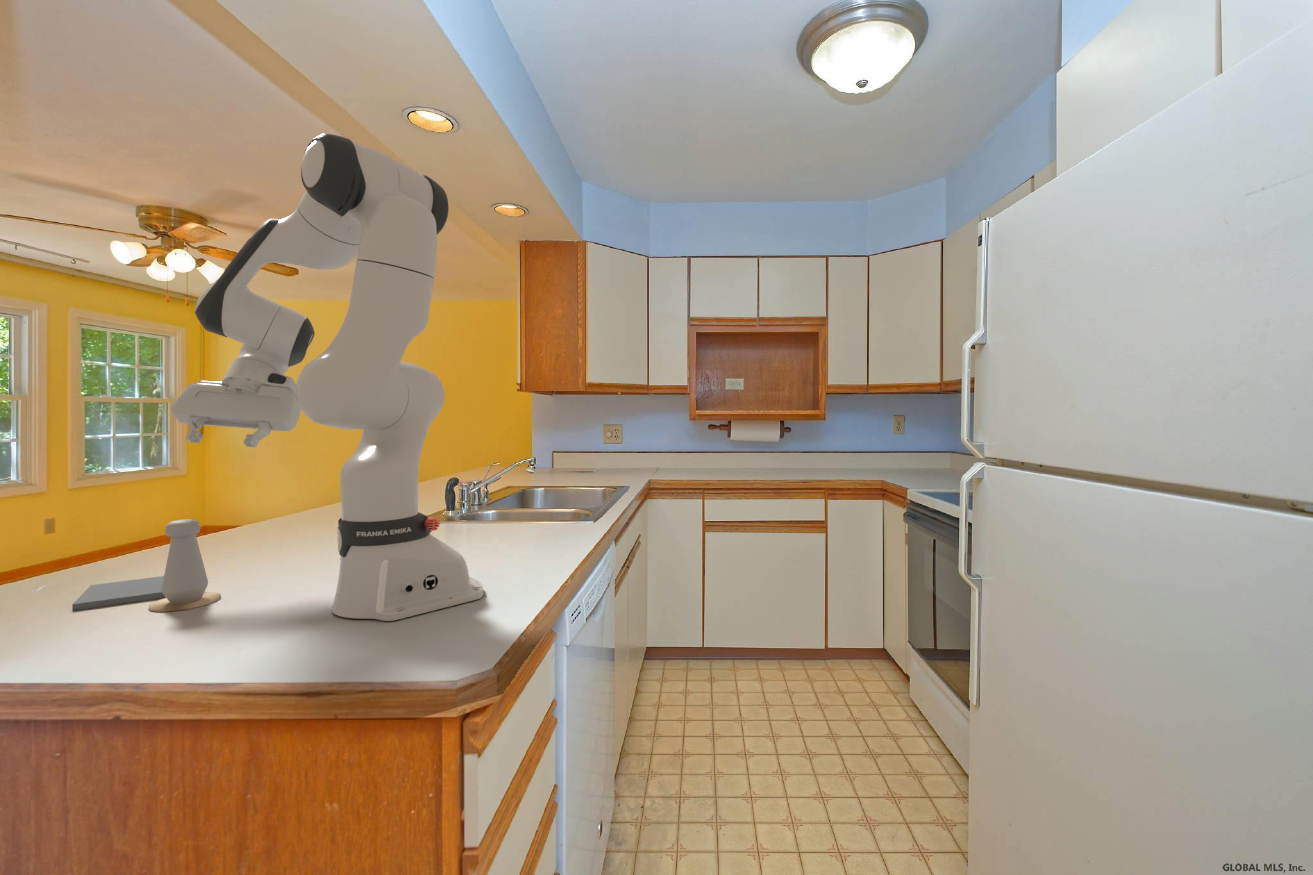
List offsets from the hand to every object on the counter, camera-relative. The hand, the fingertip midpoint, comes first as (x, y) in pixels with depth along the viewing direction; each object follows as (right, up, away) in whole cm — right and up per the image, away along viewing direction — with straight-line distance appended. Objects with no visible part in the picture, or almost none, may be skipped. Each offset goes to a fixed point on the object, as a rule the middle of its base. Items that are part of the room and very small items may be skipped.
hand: (221, 443), depth 104 cm
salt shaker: (+3, -25, -11) cm, 28 cm away
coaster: (+3, -26, -11) cm, 28 cm away
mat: (-10, -25, -6) cm, 28 cm away
